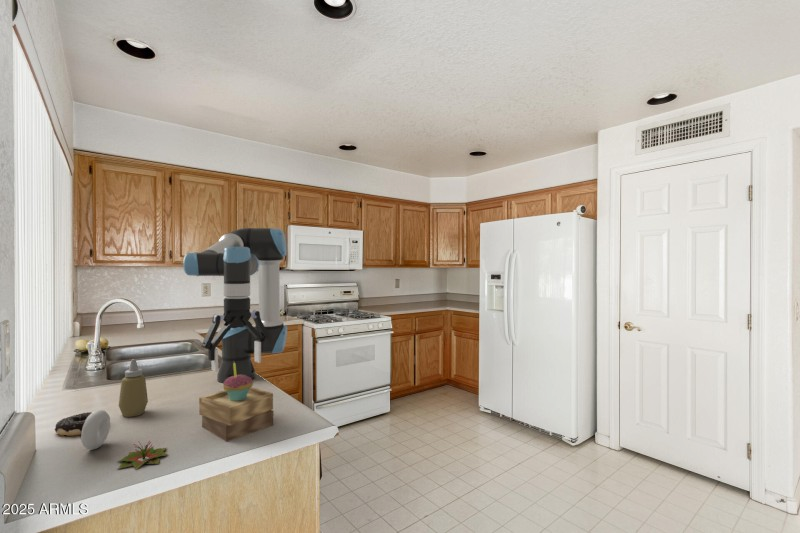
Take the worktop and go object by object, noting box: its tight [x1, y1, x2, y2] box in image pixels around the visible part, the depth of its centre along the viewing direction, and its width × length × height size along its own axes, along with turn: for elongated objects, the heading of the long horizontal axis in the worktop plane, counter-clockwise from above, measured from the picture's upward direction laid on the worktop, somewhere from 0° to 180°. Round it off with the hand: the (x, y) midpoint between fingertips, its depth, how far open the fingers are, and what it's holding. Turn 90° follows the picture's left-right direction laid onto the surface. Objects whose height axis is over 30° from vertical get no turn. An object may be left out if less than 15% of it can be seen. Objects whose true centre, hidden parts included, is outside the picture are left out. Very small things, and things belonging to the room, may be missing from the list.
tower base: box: [201, 409, 274, 442], centre depth 122 cm, size 15×15×5 cm
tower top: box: [198, 386, 274, 425], centre depth 122 cm, size 15×15×5 cm
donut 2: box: [80, 409, 111, 451], centre depth 107 cm, size 10×4×10 cm, turn 12°
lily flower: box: [116, 440, 169, 471], centre depth 101 cm, size 12×12×5 cm
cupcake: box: [222, 363, 254, 401], centre depth 122 cm, size 9×8×12 cm
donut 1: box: [54, 411, 93, 437], centre depth 118 cm, size 11×12×4 cm
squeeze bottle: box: [118, 358, 149, 418], centre depth 130 cm, size 8×8×18 cm
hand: (237, 366), depth 122 cm, fingers open, 13 cm apart
